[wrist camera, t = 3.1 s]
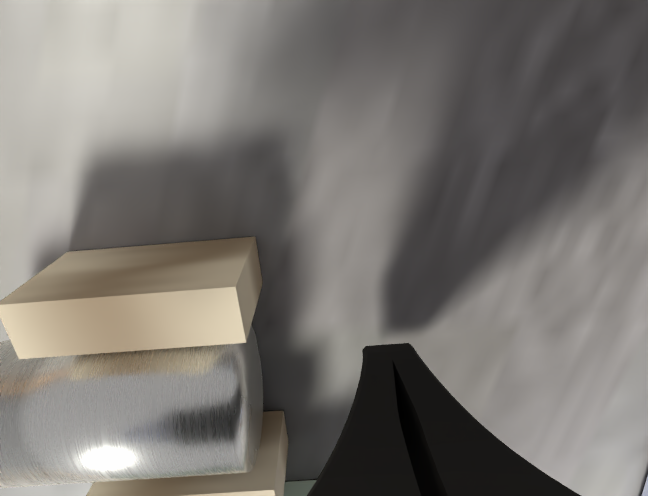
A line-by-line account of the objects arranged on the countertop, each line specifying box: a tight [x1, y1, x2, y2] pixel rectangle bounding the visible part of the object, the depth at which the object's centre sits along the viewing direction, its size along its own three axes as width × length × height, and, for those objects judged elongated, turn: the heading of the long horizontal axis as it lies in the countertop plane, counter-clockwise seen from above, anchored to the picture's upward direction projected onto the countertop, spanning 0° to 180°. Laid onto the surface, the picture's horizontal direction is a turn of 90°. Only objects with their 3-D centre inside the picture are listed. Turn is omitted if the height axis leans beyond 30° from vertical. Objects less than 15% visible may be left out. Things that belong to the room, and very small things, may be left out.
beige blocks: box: [0, 237, 288, 496], centre depth 13 cm, size 6×8×3 cm
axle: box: [0, 325, 263, 488], centre depth 12 cm, size 7×4×4 cm, turn 95°
